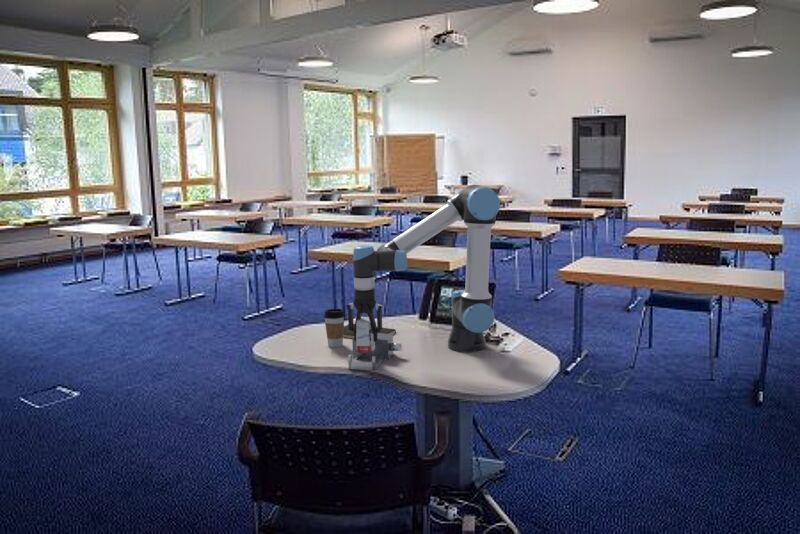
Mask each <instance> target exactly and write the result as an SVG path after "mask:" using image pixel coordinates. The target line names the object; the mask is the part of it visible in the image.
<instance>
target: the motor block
mask: <svg viewBox="0 0 800 534" xmlns="http://www.w3.org/2000/svg"><path fill="white" fill-rule="evenodd" d="M377 338H378V339H377V341H376V342H375V349H374V351H371V352H370V353H357V344H356V341H354V337H353V338H351V340H352V343H351V344H352V359H354V358H355V357H356V356H357V355H360V357H361V359H362V360H372V356H376V361H377V360H378V359H379V357H380V356H383V361H389V360H390V359H391V357H392V356H393V355H394V352H401V351H402V349H403V348H402V347H403V346H402V343H399V342H394V334H383V333H377ZM361 359H360V360H361Z"/></svg>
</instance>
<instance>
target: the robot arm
mask: <svg viewBox="0 0 800 534" xmlns="http://www.w3.org/2000/svg"><path fill="white" fill-rule="evenodd" d="M500 204H501V201H500V198H499V196H498V194H497V193H496V192H495V191H494V190H493V189H492V188H490V187H489V186H485V185H478V184H472V185H468V186H467V187H465V188H463V189H462V190H460V191H459V192H458V193H456V194H455V195H453V196H452V197H451V198H449V199H447V201H446V204H445V205H443V206H442V207H440V208H439V209H437V210H436V211H434V212H433V213H431V214H430V215H428V216H427V217H425V218H423V219H422V220H421V221H419V222H417V223H416V224H414V225H413V226H411V227H409V228H408V229H407V230H405V231H403V232H402V233H401V234H399V235H398V236H396V237H394V238H393V239H392V240H390V241H388V242H387V243H384V244H381V245H379V246H378V248H377V249H376V250H375V247H374V246H372V245H365V244H364V245H357V246H355V247H353V253H352V254H353V257H352V258H353V259H352V262H353V263H352V264H353V287H354V290H353V293H354V297H353V298H354V300H353V302H351V303H348V304H347V305H346V309H347V312H348V313H347V317H348V319H347V320H348V324H347V325H349V330H350V331H353V332H354V341H356V344H357V328H356V321H357V320H359V319H361V317H362V315H363V314H367V317H369V320H370V322H371V327H372V331H373V332H372V333H371V351H374V349H375V342H376V341H377V339H378V338H377V333H378V332H380V331H381V330H382V328H383V308H384V305H383V303H382V304H379V303H377V302H376V296H375V295H376V289H375V286H376V283H375V273H378V272H401V271H405V270H407V268H408V267H407V266H408V255H407V254H409V253H410V252H412V251H413V250H415V249H416V248H417V247H419V246H421V245H422V244H424V243H426V242H427V241H428V240H430V239H432V238H433V237H435V236H436V235H438V234H440V232H442V231H444V230H445V229H447V228H448V227H450V226H451V225H453V224H454V223H456V222H462V221H463V223H464V225H465V226H466V227H467V236H466V237H467V238H466V239H467V240H466V256H465V257H466V258H465V260H466V261H465V263H466V264H465V283H464V285H465V287H464V288H465V289H458V290H454V291H453V292H452V293H451V330H450V333H449V336H448V340H447V347H448V349H450V350H452V351H457V352H463V353H464V352H465V353H466V352H468V353H469V352H471V353H472V352H478V351H481V350H484V349H485V348H486V346H487V345H486V343H487V342H486V338H485V335H484V332H486V331H487V330H489V329H490V328H491V327H492V326H493V325H494V322H495V313H494V309H493V308H492V302H493V301H492V300H493V298H492V297H493V295H492V294H491V293H490V292H489V279H490V277H489V276H490V259H491V258H490V256H491V255H490V254H491V239H492V237H491V235H492V228H493V227H494V226H495V225H496V219H497V214H498V213H499V211H500V208H501V207H500V206H501V205H500ZM354 308H355V309H356V310H357V312H356V317H355V322H354ZM374 309H375V310H376V319H375V316H374ZM354 324H355V325H354Z"/></svg>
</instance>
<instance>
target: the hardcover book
mask: <svg viewBox="0 0 800 534" xmlns="http://www.w3.org/2000/svg"><path fill="white" fill-rule="evenodd" d="M353 324H354V325H355V323H353ZM396 331H397V330H396V329H394V328H389V327H382V330H381V331H380V332H378V333H383V334H393V335H394V334H396V333H397V332H396ZM353 337H354V332H353V331H350V330H349V325H348V324H346V325H344V331H343V338H347V339H352V338H353Z"/></svg>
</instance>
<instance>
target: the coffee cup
mask: <svg viewBox="0 0 800 534" xmlns="http://www.w3.org/2000/svg"><path fill="white" fill-rule="evenodd" d="M323 315H324V316H323V318H324V320H325V321H324V323H325V324H324V325H325V331H326V338H327V346H328V347H329V348H334V349H335V348H340V347H341V348H342V347H343V345H344V337H343V331H344V326H345V320H344V318H345V312H344V310H343V309H342V308H330V309H326V310H324V314H323Z"/></svg>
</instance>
